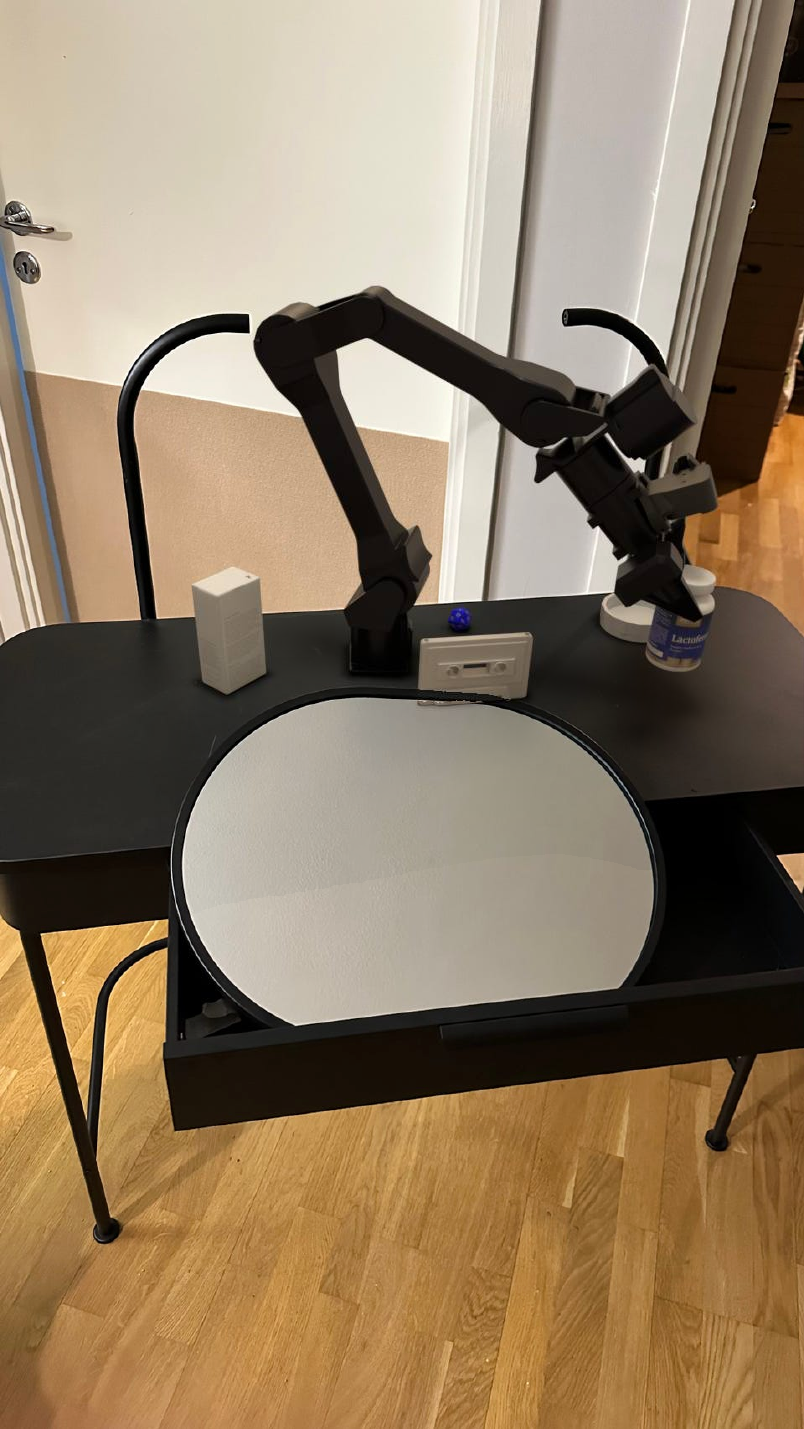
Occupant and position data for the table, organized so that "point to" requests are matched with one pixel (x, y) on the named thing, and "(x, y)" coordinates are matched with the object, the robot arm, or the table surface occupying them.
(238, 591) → the cosmetic box
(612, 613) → the dish
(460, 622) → the die
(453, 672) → the cassette
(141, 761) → the table surface
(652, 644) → the pill bottle
